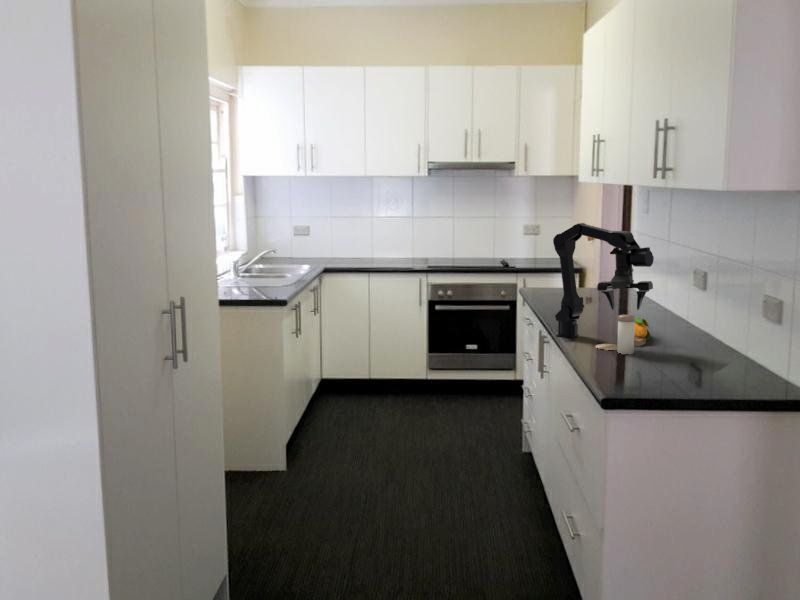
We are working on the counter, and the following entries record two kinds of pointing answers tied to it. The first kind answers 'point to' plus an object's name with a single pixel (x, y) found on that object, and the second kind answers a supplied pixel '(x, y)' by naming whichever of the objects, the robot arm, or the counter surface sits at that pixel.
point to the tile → (639, 341)
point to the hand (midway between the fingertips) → (625, 309)
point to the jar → (626, 334)
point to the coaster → (607, 346)
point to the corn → (641, 329)
